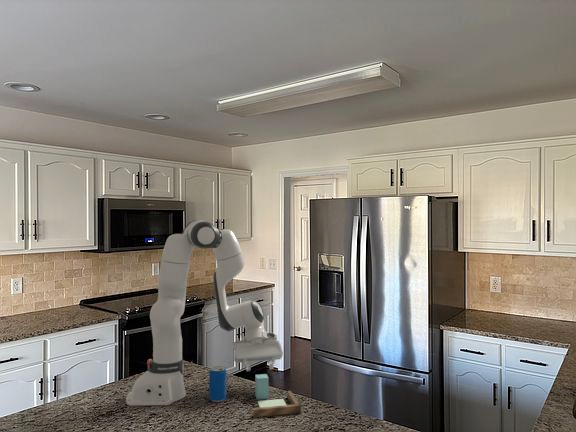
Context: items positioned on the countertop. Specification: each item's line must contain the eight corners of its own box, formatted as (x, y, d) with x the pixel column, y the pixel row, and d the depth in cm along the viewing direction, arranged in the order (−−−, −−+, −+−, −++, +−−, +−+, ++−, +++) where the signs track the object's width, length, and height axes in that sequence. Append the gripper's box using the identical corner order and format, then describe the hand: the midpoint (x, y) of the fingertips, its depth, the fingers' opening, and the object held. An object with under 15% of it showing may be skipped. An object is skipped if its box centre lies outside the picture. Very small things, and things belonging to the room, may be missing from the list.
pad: (261, 412, 161) (261, 411, 161) (257, 401, 171) (257, 401, 171) (289, 409, 163) (289, 409, 163) (283, 399, 173) (283, 398, 173)
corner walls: (253, 417, 157) (253, 410, 157) (247, 400, 172) (247, 394, 172) (300, 412, 161) (300, 405, 161) (290, 397, 175) (290, 390, 176)
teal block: (257, 399, 173) (257, 378, 173) (255, 395, 178) (255, 374, 178) (268, 398, 174) (268, 377, 174) (266, 394, 179) (266, 374, 179)
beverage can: (222, 403, 169) (223, 371, 169) (206, 402, 170) (206, 370, 171) (228, 397, 175) (228, 366, 176) (212, 395, 177) (213, 365, 177)
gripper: (232, 337, 186) (235, 368, 176) (280, 333, 191) (285, 363, 181) (231, 345, 190) (233, 375, 180) (278, 341, 195) (283, 371, 185)
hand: (260, 369), depth 181 cm, fingers open, 8 cm apart
